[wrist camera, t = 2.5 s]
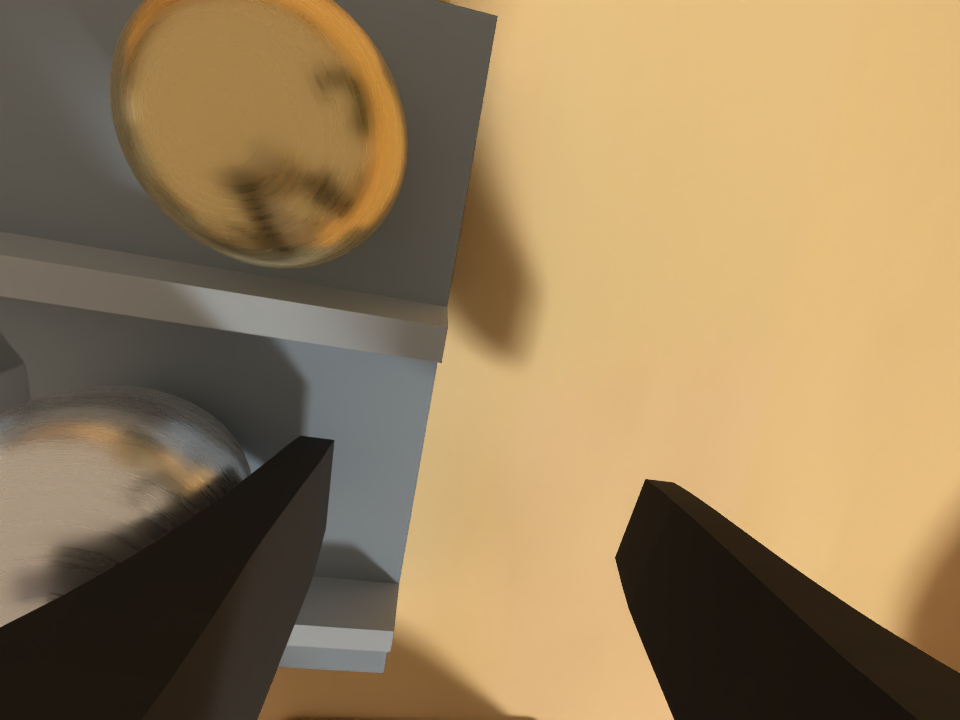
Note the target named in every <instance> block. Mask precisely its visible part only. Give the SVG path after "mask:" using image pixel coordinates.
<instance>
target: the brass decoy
mask: <svg viewBox="0 0 960 720" xmlns="http://www.w3.org/2000/svg"><path fill="white" fill-rule="evenodd" d="M110 105H111V112H112V119H113V123H114V127H115V131H116V135H117V139H118V141H119V144H120V146H121V149H122V152H123V154H124V157H125V159H126V161H127V163H128V165H129V167H130V168H131V170H132V172H133V174H134V176H135V177H136V179H137V180H138V182H139V184H140V185H141V187H142V188H143V190H144V191H145V192H146V194H147V195H148V196H149V197H150V198H151V200H152V201H153V202H154V203H155V204H156V206H157V207H158V208H159V209H160V210H161V211H162V212H163V213H164V214H165V215H166V216H167V217H168V218H169V219H170V220H171V221H172V222H173V223H174V224H175V225H176V226H178V227H179V228H180V229H182V230H183V231H184V232H185V233H187V234H188V235H189V236H190V237H192V238H194V239H195V240H197V241H198V242H200V243H201V244H203V245H205V246H206V247H208V248H210V249H213V250H215V251H217V252H219V253H221V254H223V255H225V256H228V257H230V258H233V259H236V260H239V261H241V262H244V263H249V264H253V265H257V266H262V267H272V268H303V267H309V266H315V265H319V264H322V263H326V262H329V261H332V260H334V259H336V258H338V257H341V256H343V255H345V254H347V253H349V252H351V251H352V250H354V249H355V248H357V247H359V246H360V245H361V244H363V243H364V242H365V241H366V240H367V239H368V238H370V237H371V236H372V235H373V234H374V233H375V232H376V230H377V229H378V228H379V227H380V226H381V225H382V224H383V222H384V221H385V219H386V218H387V216H388V215H389V213H390V212H391V210H392V208H393V206H394V204H395V202H396V200H397V198H398V196H399V193H400V190H401V186H402V183H403V180H404V176H405V171H406V166H407V156H408V134H407V123H406V117H405V112H404V106H403V103H402V100H401V96H400V93H399V90H398V87H397V84H396V82H395V80H394V77H393V75H392V73H391V70H390V68H389V67H388V65H387V63H386V61H385V60H384V58H383V56H382V54H381V52H380V51H379V49H378V48H377V47H376V45H375V44H374V43H373V41H372V40H371V38H370V37H369V36H368V34H367V33H366V32H365V31H364V30H363V29H362V28H361V27H360V25H359V24H358V23H357V22H356V21H355V20H354V19H353V18H352V17H351V16H350V15H349V14H348V13H347V12H346V11H345V10H344V9H342V8H341V7H340V6H339V5H338V4H337V3H335V2H334V1H333V0H143V1H142V2H141V3H140V5H139V6H138V7H137V8H136V9H135V10H134V11H133V13H132V15H131V16H130V18H129V19H128V21H127V22H126V24H125V25H124V27H123V30H122V32H121V34H120V37H119V39H118V41H117V44H116V47H115V51H114V55H113V59H112V64H111V72H110Z"/></svg>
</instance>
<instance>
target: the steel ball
mask: <svg viewBox="0 0 960 720" xmlns="http://www.w3.org/2000/svg"><path fill="white" fill-rule="evenodd" d="M250 474H251V470H250V467H249V464H248V461H247V459H246V457H245V454H244V452H243V450H242V448H241V447H240V445H239V443H238V442H237V440H236V439H235V438H234V436H233V435H232V434H231V433H230V432H229V430H228V429H227V428H226V427H225V426H224V425H223V424H222V423H221V422H220V421H219V420H218V419H217V418H216V417H215V416H213V415H212V414H210V413H209V412H208V411H206V410H205V409H203V408H202V407H200V406H198V405H196V404H194V403H193V402H191V401H189V400H186V399H184V398H182V397H179V396H177V395H174V394H171V393H167V392H164V391H161V390H156V389H151V388H146V387H138V386H128V385H100V386H90V387H82V388H77V389H72V390H67V391H63V392H58V393H53V394H50V395H47V396H44V397H41V398H38V399H35V400H32V401H30V402H28V403H25V404H23V405H20V406H18V407H16V408H14V409H12V410H10V411H8V412H6V413H4V414H2V415H0V627H2V626H4V625H6V624H8V623H9V622H11V621H13V620H15V619H17V618H19V617H21V616H23V615H25V614H27V613H29V612H31V611H33V610H35V609H37V608H39V607H41V606H43V605H45V604H47V603H49V602H51V601H53V600H55V599H57V598H59V597H60V596H62V595H64V594H66V593H68V592H70V591H72V590H73V589H75V588H77V587H79V586H81V585H82V584H84V583H86V582H88V581H89V580H91V579H93V578H95V577H96V576H98V575H100V574H102V573H103V572H105V571H107V570H109V569H110V568H112V567H114V566H116V565H117V564H119V563H121V562H123V561H124V560H126V559H128V558H129V557H131V556H132V555H134V554H136V553H137V552H139V551H140V550H142V549H144V548H145V547H147V546H148V545H150V544H152V543H153V542H155V541H156V540H158V539H159V538H161V537H162V536H164V535H165V534H167V533H168V532H170V531H171V530H173V529H174V528H176V527H177V526H179V525H180V524H182V523H183V522H185V521H186V520H188V519H189V518H191V517H192V516H194V515H195V514H197V513H198V512H200V511H201V510H203V509H204V508H205V507H207V506H208V505H210V504H211V503H212V502H214V501H215V500H217V499H218V498H219V497H221V496H222V495H223V494H225V493H226V492H227V491H229V490H230V489H231V488H233V487H234V486H235V485H237V484H238V483H240V482H241V481H242V480H244V479H245V478H246V477H248V476H249V475H250Z"/></svg>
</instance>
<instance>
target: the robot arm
mask: <svg viewBox="0 0 960 720" xmlns="http://www.w3.org/2000/svg"><path fill="white" fill-rule="evenodd" d="M334 441H335V440H331V439H323V438H315V437H307V436H299V437H298V438H296V439H295V440H293V441H292V442H291V443H289V444H288V445H287V446H285V447H284V448H283V449H282V450H280V451H279V452H278V453H277V454H276V455H274V456H273V457H272V458H271V459H269V460H268V461H267V462H265V463H264V464H263V465H262V466H260V467H259V468H258V469H257V470H255V471H254V472H253V473H251V474H250V475H249V476H248V477H246V478H245V479H244V480H242V481H241V482H240V483H238V484H237V485H235V486H234V487H233V488H231V489H230V490H229V491H227V492H226V493H225V494H223V495H222V496H221V497H219V498H218V499H217V500H215V501H214V502H212V503H211V504H210V505H208V506H207V507H205V508H204V509H203V510H201V511H200V512H198V513H197V514H195V515H194V516H192V517H191V518H189V519H188V520H186V521H185V522H183V523H182V524H180V525H179V526H177V527H176V528H174V529H173V530H171V531H170V532H168V533H167V534H165V535H164V536H162V537H161V538H159V539H158V540H156V541H155V542H153V543H152V544H150V545H148V546H147V547H145V548H144V549H142V550H140V551H139V552H137V553H136V554H134V555H132V556H131V557H129V558H128V559H126V560H124V561H123V562H121V563H119V564H117V565H116V566H114V567H112V568H110V569H109V570H107V571H105V572H103V573H102V574H100V575H98V576H96V577H95V578H93V579H91V580H89V581H88V582H86V583H84V584H82V585H81V586H79V587H77V588H75V589H73V590H72V591H70V592H68V593H66V594H64V595H62V596H60V597H59V598H57V599H55V600H53V601H51V602H49V603H47V604H45V605H43V606H41V607H39V608H37V609H35V610H33V611H31V612H29V613H27V614H25V615H23V616H21V617H19V618H17V619H15V620H13V621H11V622H9V623H8V624H6V625H4V626H2V627H0V720H257V719H258V716H259V714H260V711H261V708H262V706H263V703H264V701H265V698H266V696H267V693H268V691H269V688H270V686H271V683H272V681H273V678H274V676H275V673H276V671H277V668H278V666H279V663H280V661H281V658H282V655H283V653H284V650H285V648H286V645H287V643H288V640H289V638H290V635H291V633H292V630H293V628H294V625H295V623H296V620H297V618H298V615H299V612H300V610H301V607H302V605H303V602H304V600H305V597H306V595H307V592H308V589H309V587H310V584H311V582H312V578H313V574H314V571H315V567H316V564H317V560H318V557H319V553H320V549H321V545H322V542H323V538H324V534H325V531H326V524H327V513H328V503H329V492H330V482H331V472H332V461H333V451H334ZM615 559H616V563H617V567H618V571H619V575H620V579H621V583H622V587H623V590H624V594H625V597H626V601H627V604H628V608H629V610H630V613H631V615H632V618H633V621H634V623H635V626H636V628H637V631H638V633H639V635H640V638H641V640H642V643H643V645H644V648H645V650H646V653H647V655H648V658H649V660H650V662H651V665H652V667H653V670H654V672H655V674H656V677H657V679H658V682H659V684H660V686H661V689H662V691H663V694H664V696H665V698H666V701H667V703H668V706H669V708H670V710H671V713H672V715H673V718H674V720H960V673H958V672H956V671H955V670H953V669H951V668H950V667H948V666H946V665H944V664H943V663H941V662H939V661H937V660H936V659H934V658H933V657H931V656H929V655H928V654H926V653H924V652H923V651H921V650H919V649H918V648H916V647H915V646H913V645H911V644H910V643H908V642H906V641H905V640H903V639H901V638H900V637H898V636H896V635H895V634H893V633H892V632H890V631H888V630H887V629H885V628H883V627H882V626H880V625H879V624H877V623H875V622H874V621H872V620H871V619H869V618H868V617H866V616H865V615H863V614H861V613H860V612H858V611H857V610H855V609H854V608H852V607H851V606H849V605H848V604H846V603H845V602H843V601H842V600H840V599H839V598H838V597H836V596H835V595H833V594H832V593H830V592H829V591H827V590H826V589H824V588H823V587H821V586H820V585H818V584H817V583H815V582H814V581H812V580H811V579H810V578H808V577H807V576H805V575H804V574H802V573H801V572H800V571H798V570H797V569H795V568H794V567H793V566H791V565H790V564H788V563H787V562H786V561H784V560H783V559H781V558H780V557H779V556H777V555H776V554H774V553H773V552H772V551H770V550H769V549H768V548H766V547H765V546H763V545H762V544H761V543H759V542H758V541H757V540H755V539H754V538H752V537H751V536H750V535H748V534H747V533H746V532H744V531H743V530H742V529H740V528H739V527H737V526H736V525H735V524H733V523H732V522H731V521H729V520H728V519H727V518H725V517H724V516H722V515H721V514H720V513H718V512H717V511H716V510H714V509H713V508H711V507H710V506H709V505H707V504H706V503H704V502H703V501H701V500H700V499H699V498H697V497H696V496H694V495H693V494H691V493H690V492H688V491H687V490H685V489H683V488H682V487H680V486H678V485H677V484H675V483H672V482H664V481H656V480H648V479H645V482H644V484H643V487H642V489H641V492H640V495H639V497H638V500H637V502H636V505H635V508H634V510H633V513H632V515H631V518H630V521H629V523H628V526H627V528H626V531H625V533H624V536H623V539H622V541H621V544H620V546H619V549H618V552H617V554H616V557H615Z"/></svg>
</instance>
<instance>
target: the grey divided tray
mask: <svg viewBox="0 0 960 720" xmlns="http://www.w3.org/2000/svg"><path fill="white" fill-rule="evenodd" d="M142 1H143V0H0V415H2V414H4V413H6V412H8V411H10V410H12V409H14V408H16V407H18V406H20V405H23V404H25V403H28V402H30V401H32V400H35V399H38V398H41V397H44V396H47V395H50V394H53V393H58V392H63V391H67V390H72V389H77V388H82V387H90V386H100V385H128V386H138V387H146V388H151V389H156V390H161V391H164V392H167V393H171V394H174V395H177V396H179V397H182V398H184V399H186V400H189V401H191V402H193V403H194V404H196V405H198V406H200V407H202V408H203V409H205V410H206V411H208V412H209V413H210V414H212V415H213V416H215V417H216V418H217V419H218V420H219V421H220V422H221V423H222V424H223V425H224V426H225V427H226V428H227V429H228V430H229V432H230V433H231V434H232V435H233V436H234V438H235V439H236V440H237V442H238V443H239V445H240V447H241V448H242V450H243V452H244V454H245V457H246V459H247V461H248V464H249V467H250V470H251V473H253V472H254V471H255V470H257V469H258V468H259V467H260V466H262V465H263V464H264V463H265V462H267V461H268V460H269V459H271V458H272V457H273V456H274V455H276V454H277V453H278V452H279V451H280V450H282V449H283V448H284V447H285V446H287V445H288V444H289V443H291V442H292V441H293V440H295V439H296V438H298V437H299V436H307V437H315V438H323V439H331V440H335V441H334V451H333V461H332V472H331V482H330V492H329V503H328V513H327V524H326V531H325V534H324V538H323V542H322V545H321V549H320V553H319V557H318V560H317V564H316V567H315V571H314V574H313V578H312V582H311V584H310V587H309V589H308V592H307V595H306V597H305V600H304V602H303V605H302V607H301V610H300V612H299V615H298V618H297V620H296V623H295V625H294V628H293V630H292V633H291V635H290V638H289V640H288V643H287V645H286V648H285V650H284V653H283V655H282V658H281V661H280V663H279V666H278V667H284V668H302V669H319V670H336V671H354V672H371V673H384V667H385V662H386V656H387V652H390V651H391V645H392V640H393V634H394V626H395V617H396V607H397V598H398V589H399V581H400V575H401V569H402V564H403V558H404V552H405V546H406V541H407V535H408V529H409V523H410V518H411V512H412V506H413V500H414V495H415V489H416V483H417V477H418V471H419V466H420V460H421V454H422V448H423V443H424V437H425V431H426V425H427V420H428V414H429V408H430V402H431V397H432V391H433V385H434V379H435V374H436V368H437V362H439V363H442V357H443V351H444V346H445V340H446V335H447V329H448V319H447V304H448V299H449V293H450V287H451V281H452V276H453V270H454V264H455V258H456V253H457V247H458V241H459V235H460V230H461V224H462V218H463V212H464V207H465V201H466V195H467V189H468V183H469V178H470V172H471V166H472V160H473V155H474V149H475V143H476V137H477V132H478V126H479V120H480V114H481V109H482V103H483V97H484V91H485V86H486V80H487V74H488V68H489V63H490V57H491V51H492V45H493V40H494V34H495V28H496V22H497V16H495V15H491V14H487V13H484V12H480V11H476V10H472V9H468V8H464V7H460V6H457V5H453V4H449V3H445V2H441V1H437V0H333V1H334V2H335V3H337V4H338V5H339V6H340V7H341V8H342V9H344V10H345V11H346V12H347V13H348V14H349V15H350V16H351V17H352V18H353V19H354V20H355V21H356V22H357V23H358V24H359V25H360V27H361V28H362V29H363V30H364V31H365V32H366V33H367V34H368V36H369V37H370V38H371V40H372V41H373V43H374V44H375V45H376V47H377V48H378V49H379V51H380V52H381V54H382V56H383V58H384V60H385V61H386V63H387V65H388V67H389V68H390V70H391V73H392V75H393V77H394V80H395V82H396V84H397V87H398V90H399V93H400V96H401V100H402V103H403V106H404V112H405V117H406V123H407V134H408V156H407V166H406V171H405V176H404V180H403V183H402V186H401V190H400V193H399V196H398V198H397V200H396V202H395V204H394V206H393V208H392V210H391V212H390V213H389V215H388V216H387V218H386V219H385V221H384V222H383V224H382V225H381V226H380V227H379V228H378V229H377V230H376V232H375V233H374V234H373V235H372V236H371V237H370V238H368V239H367V240H366V241H365V242H364V243H363V244H361V245H360V246H359V247H357V248H355V249H354V250H352V251H351V252H349V253H347V254H345V255H343V256H341V257H338V258H336V259H334V260H332V261H329V262H326V263H322V264H319V265H315V266H309V267H303V268H272V267H262V266H257V265H253V264H249V263H244V262H241V261H239V260H236V259H233V258H230V257H228V256H225V255H223V254H221V253H219V252H217V251H215V250H213V249H210V248H208V247H206V246H205V245H203V244H201V243H200V242H198V241H197V240H195V239H194V238H192V237H190V236H189V235H188V234H187V233H185V232H184V231H183V230H182V229H180V228H179V227H178V226H176V225H175V224H174V223H173V222H172V221H171V220H170V219H169V218H168V217H167V216H166V215H165V214H164V213H163V212H162V211H161V210H160V209H159V208H158V207H157V206H156V204H155V203H154V202H153V201H152V200H151V198H150V197H149V196H148V195H147V194H146V192H145V191H144V190H143V188H142V187H141V185H140V184H139V182H138V180H137V179H136V177H135V176H134V174H133V172H132V170H131V168H130V167H129V165H128V163H127V161H126V159H125V157H124V154H123V152H122V149H121V146H120V144H119V141H118V139H117V135H116V131H115V127H114V123H113V119H112V112H111V105H110V72H111V64H112V59H113V55H114V51H115V47H116V44H117V41H118V39H119V37H120V34H121V32H122V30H123V27H124V25H125V24H126V22H127V21H128V19H129V18H130V16H131V15H132V13H133V11H134V10H135V9H136V8H137V7H138V6H139V5H140V3H141V2H142Z"/></svg>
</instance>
